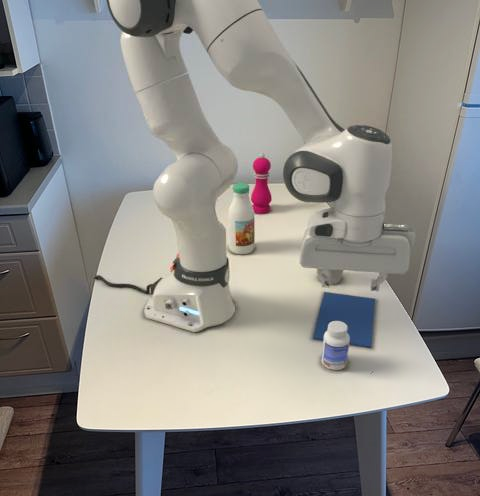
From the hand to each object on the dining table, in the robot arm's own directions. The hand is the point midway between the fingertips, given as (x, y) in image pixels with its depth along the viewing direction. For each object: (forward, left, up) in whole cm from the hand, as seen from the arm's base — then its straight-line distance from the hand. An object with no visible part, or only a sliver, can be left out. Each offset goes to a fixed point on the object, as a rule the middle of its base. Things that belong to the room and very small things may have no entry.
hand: (349, 287), depth 96 cm
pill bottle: (-1, -1, -19) cm, 19 cm away
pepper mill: (-35, +75, -19) cm, 85 cm away
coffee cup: (-6, +34, -19) cm, 39 cm away
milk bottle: (-34, +45, -19) cm, 59 cm away
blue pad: (0, +16, -18) cm, 24 cm away
